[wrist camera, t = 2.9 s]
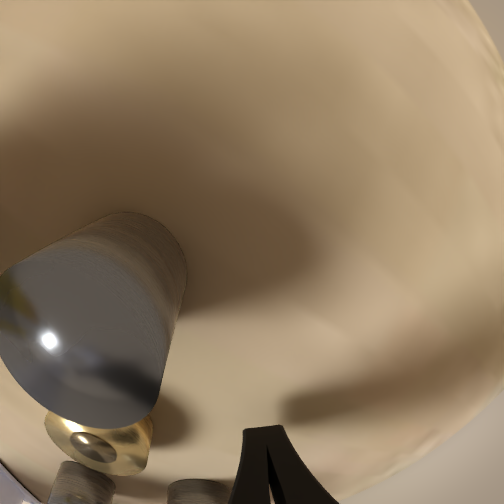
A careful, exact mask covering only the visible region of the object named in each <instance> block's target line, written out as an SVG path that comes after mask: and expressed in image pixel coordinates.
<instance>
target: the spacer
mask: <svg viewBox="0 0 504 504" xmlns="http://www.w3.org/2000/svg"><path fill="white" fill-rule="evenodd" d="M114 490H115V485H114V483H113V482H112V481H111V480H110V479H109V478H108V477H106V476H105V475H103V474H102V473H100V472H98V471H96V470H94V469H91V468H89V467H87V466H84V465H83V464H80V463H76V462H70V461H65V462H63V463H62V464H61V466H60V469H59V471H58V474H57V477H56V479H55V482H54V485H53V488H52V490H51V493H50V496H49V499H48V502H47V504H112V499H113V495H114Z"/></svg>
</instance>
